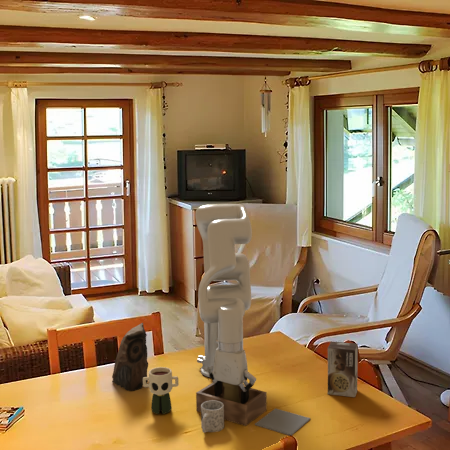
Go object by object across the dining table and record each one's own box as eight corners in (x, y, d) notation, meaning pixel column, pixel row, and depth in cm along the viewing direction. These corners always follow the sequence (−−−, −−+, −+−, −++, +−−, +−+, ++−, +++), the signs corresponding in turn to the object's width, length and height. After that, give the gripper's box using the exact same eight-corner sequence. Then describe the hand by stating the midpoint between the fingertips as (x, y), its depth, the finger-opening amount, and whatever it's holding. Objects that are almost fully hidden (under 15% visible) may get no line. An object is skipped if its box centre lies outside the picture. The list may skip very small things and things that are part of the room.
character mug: (142, 416, 194) (141, 376, 192) (145, 406, 201) (143, 367, 199) (178, 416, 194) (177, 375, 192) (179, 405, 201) (178, 366, 199)
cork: (239, 415, 194) (239, 381, 192) (219, 414, 195) (219, 380, 193) (242, 407, 199) (242, 373, 198) (223, 405, 201) (223, 372, 199)
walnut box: (196, 410, 197) (196, 392, 196) (218, 396, 207) (218, 379, 206) (245, 425, 187) (245, 406, 186) (266, 410, 197) (266, 392, 196)
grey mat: (255, 425, 188) (255, 423, 188) (275, 409, 198) (275, 408, 197) (291, 435, 181) (291, 434, 181) (310, 419, 191) (310, 418, 191)
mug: (207, 419, 191) (206, 399, 190) (227, 423, 189) (227, 402, 188) (192, 435, 182) (192, 413, 181) (214, 439, 180) (213, 417, 179)
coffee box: (357, 389, 211) (358, 343, 208) (355, 398, 205) (356, 350, 202) (330, 386, 214) (330, 340, 211) (326, 394, 208) (327, 347, 205)
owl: (146, 374, 226) (144, 319, 223) (158, 387, 215) (156, 330, 212) (111, 381, 221) (108, 325, 218) (122, 394, 210) (119, 336, 206)
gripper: (200, 343, 195) (201, 396, 198) (248, 354, 186) (248, 409, 188) (214, 336, 202) (215, 388, 204) (261, 346, 192) (261, 400, 195)
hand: (231, 398), depth 196 cm, fingers open, 9 cm apart
